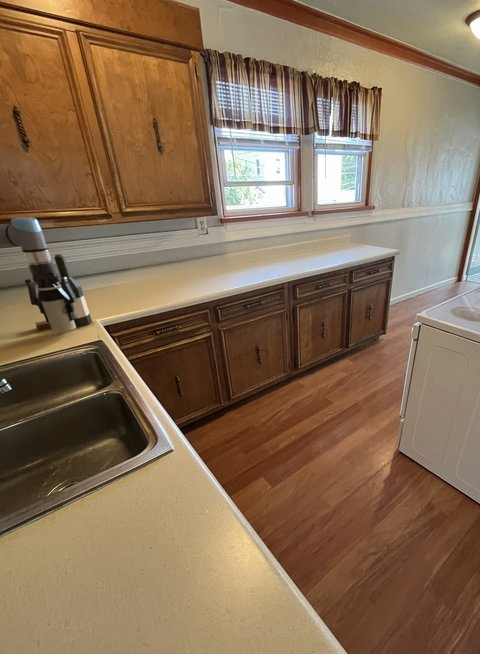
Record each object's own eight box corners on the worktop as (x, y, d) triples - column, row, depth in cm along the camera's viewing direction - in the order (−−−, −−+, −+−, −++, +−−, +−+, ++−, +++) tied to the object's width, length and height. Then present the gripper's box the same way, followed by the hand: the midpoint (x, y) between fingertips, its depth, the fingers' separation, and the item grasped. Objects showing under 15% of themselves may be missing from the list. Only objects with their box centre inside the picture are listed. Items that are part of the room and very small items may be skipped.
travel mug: (48, 332, 130) (31, 288, 122) (66, 325, 137) (51, 283, 129) (62, 334, 128) (46, 290, 120) (80, 327, 135) (66, 284, 127)
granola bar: (38, 330, 138) (36, 325, 137) (37, 327, 141) (35, 322, 140) (71, 323, 144) (69, 318, 143) (69, 321, 148) (67, 316, 146)
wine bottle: (96, 321, 147) (75, 253, 133) (81, 328, 140) (56, 257, 126) (82, 319, 149) (59, 252, 135) (65, 326, 142) (40, 256, 128)
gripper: (75, 259, 125) (92, 315, 135) (15, 262, 122) (37, 318, 132) (66, 263, 118) (85, 321, 129) (2, 266, 115) (27, 325, 126)
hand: (61, 320), depth 131 cm, fingers closed on travel mug, 8 cm apart
